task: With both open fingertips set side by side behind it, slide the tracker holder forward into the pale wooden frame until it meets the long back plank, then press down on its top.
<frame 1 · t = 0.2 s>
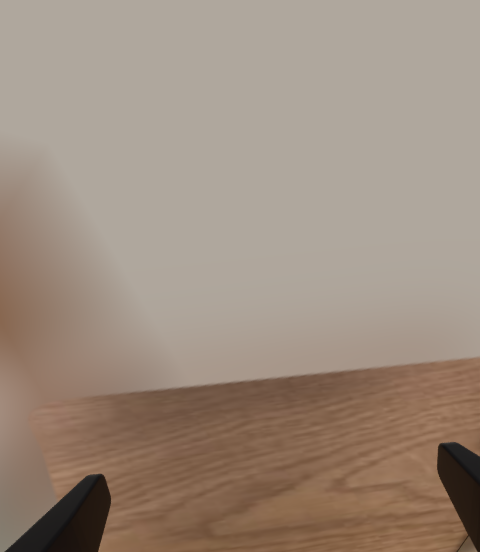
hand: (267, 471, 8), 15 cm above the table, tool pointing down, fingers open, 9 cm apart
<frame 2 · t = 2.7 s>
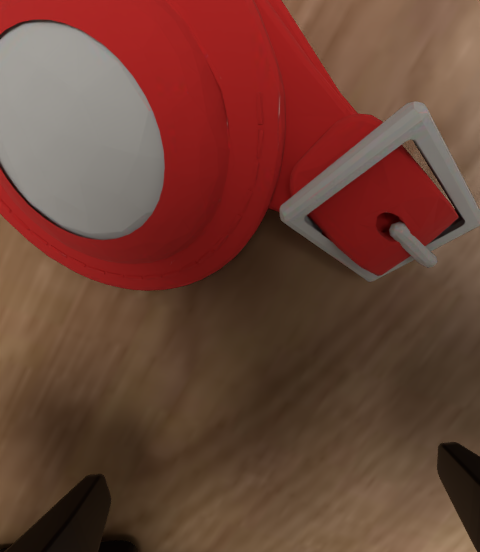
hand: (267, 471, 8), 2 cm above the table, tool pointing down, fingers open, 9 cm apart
tracker holder: (196, 155, 9), on the table
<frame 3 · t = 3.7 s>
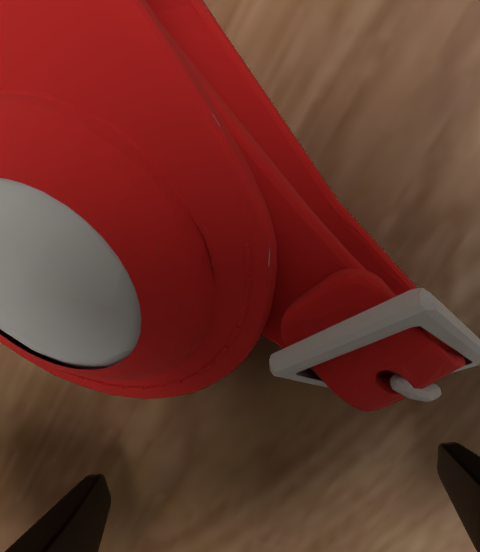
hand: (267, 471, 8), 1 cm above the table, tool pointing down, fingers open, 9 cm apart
tracker holder: (184, 248, 8), on the table
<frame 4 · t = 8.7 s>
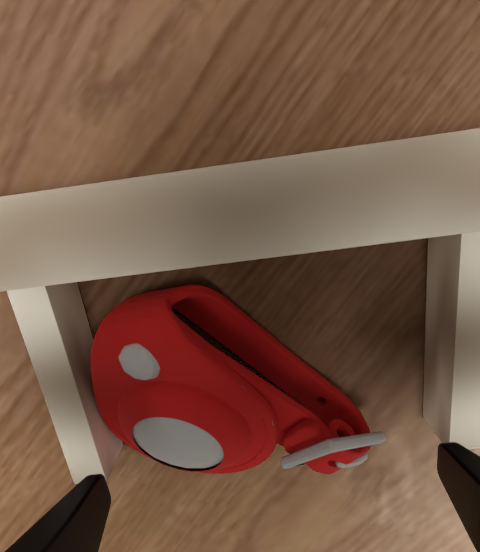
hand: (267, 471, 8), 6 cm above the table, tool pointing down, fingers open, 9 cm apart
tracker holder: (228, 388, 15), on the table
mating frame: (258, 351, 14), on the table
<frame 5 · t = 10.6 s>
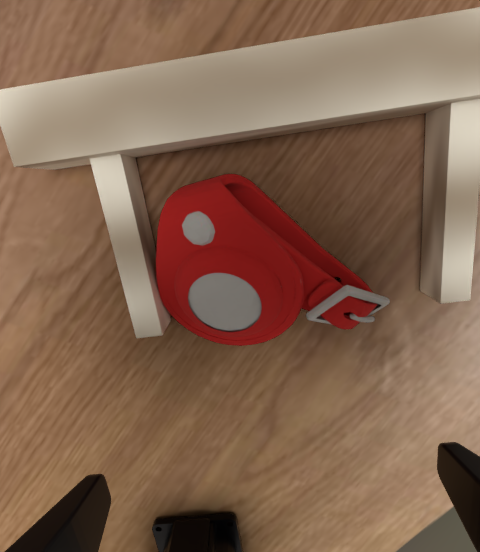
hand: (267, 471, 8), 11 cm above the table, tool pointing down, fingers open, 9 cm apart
tracker holder: (259, 277, 19), on the table, touching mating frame
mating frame: (285, 232, 17), on the table
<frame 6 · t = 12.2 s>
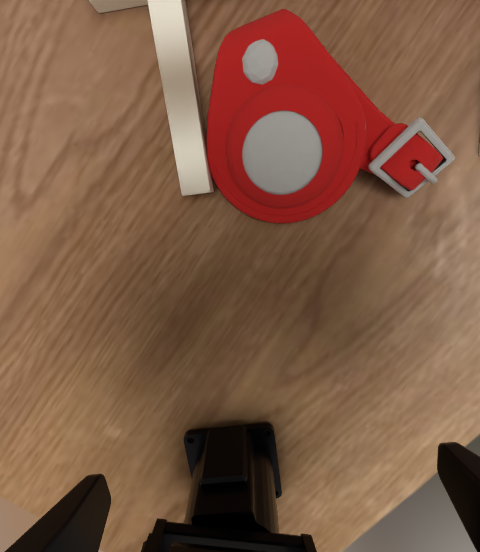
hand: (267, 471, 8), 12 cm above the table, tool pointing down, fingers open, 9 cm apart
tracker holder: (308, 152, 18), on the table
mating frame: (339, 86, 16), on the table
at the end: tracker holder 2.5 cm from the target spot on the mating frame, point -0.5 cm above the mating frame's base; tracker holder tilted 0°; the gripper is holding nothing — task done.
